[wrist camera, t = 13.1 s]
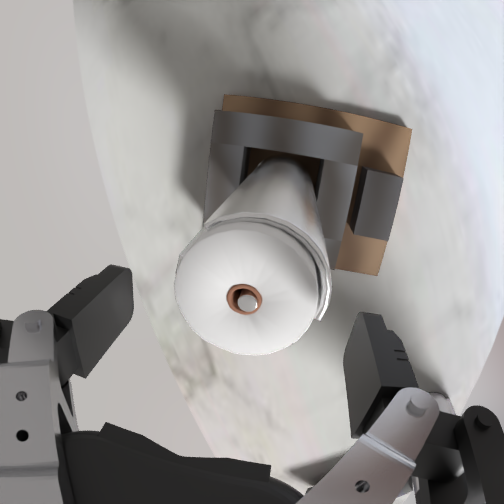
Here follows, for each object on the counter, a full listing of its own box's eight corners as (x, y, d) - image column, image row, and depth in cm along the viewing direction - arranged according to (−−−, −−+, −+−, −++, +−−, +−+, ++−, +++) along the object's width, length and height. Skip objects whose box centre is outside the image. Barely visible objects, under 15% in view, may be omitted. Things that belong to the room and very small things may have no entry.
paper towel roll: (264, 218, 37) (206, 376, 14) (244, 164, 35) (139, 250, 12) (319, 201, 35) (349, 349, 12) (300, 146, 33) (306, 195, 10)
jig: (407, 128, 32) (428, 130, 26) (374, 270, 39) (386, 296, 33) (227, 95, 33) (212, 89, 27) (210, 242, 40) (195, 262, 34)
